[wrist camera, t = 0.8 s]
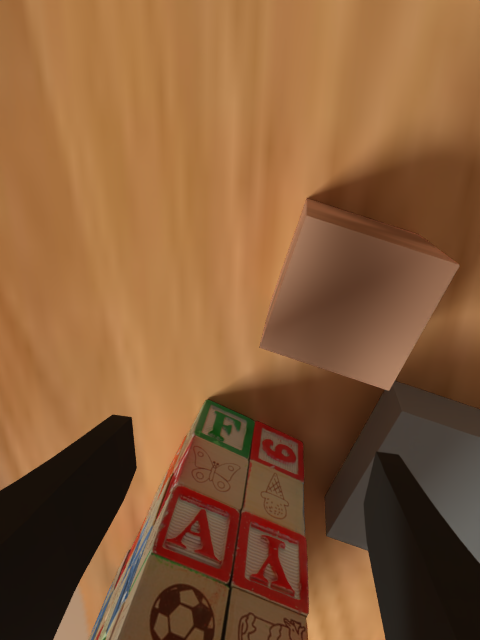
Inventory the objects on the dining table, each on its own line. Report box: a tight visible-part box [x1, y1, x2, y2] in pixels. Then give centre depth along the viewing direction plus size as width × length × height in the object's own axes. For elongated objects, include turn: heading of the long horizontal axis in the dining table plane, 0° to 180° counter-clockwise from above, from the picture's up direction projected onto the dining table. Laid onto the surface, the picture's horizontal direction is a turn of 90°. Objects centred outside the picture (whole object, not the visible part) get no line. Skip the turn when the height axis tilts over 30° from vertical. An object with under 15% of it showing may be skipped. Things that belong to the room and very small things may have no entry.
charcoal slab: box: [325, 381, 480, 563], centre depth 20 cm, size 9×9×3 cm
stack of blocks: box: [88, 400, 309, 640], centre depth 21 cm, size 21×6×12 cm, turn 156°
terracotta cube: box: [259, 198, 460, 391], centre depth 15 cm, size 5×5×5 cm
